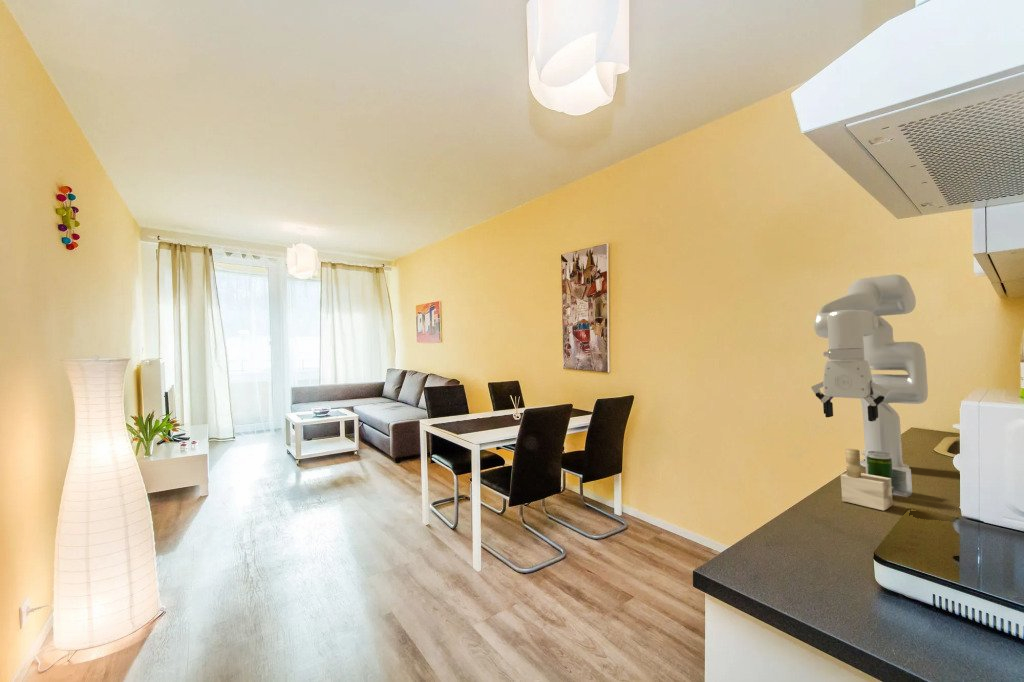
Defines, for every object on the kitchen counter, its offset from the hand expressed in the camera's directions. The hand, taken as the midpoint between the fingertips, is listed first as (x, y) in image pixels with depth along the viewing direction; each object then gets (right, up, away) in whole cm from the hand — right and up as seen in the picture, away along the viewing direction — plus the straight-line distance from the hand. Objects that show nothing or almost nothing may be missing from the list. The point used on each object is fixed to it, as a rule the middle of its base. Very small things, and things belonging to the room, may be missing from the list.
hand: (850, 418), depth 115 cm
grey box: (+17, -22, +7) cm, 29 cm away
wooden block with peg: (+4, -23, -1) cm, 23 cm away
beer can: (+12, -23, +4) cm, 26 cm away
